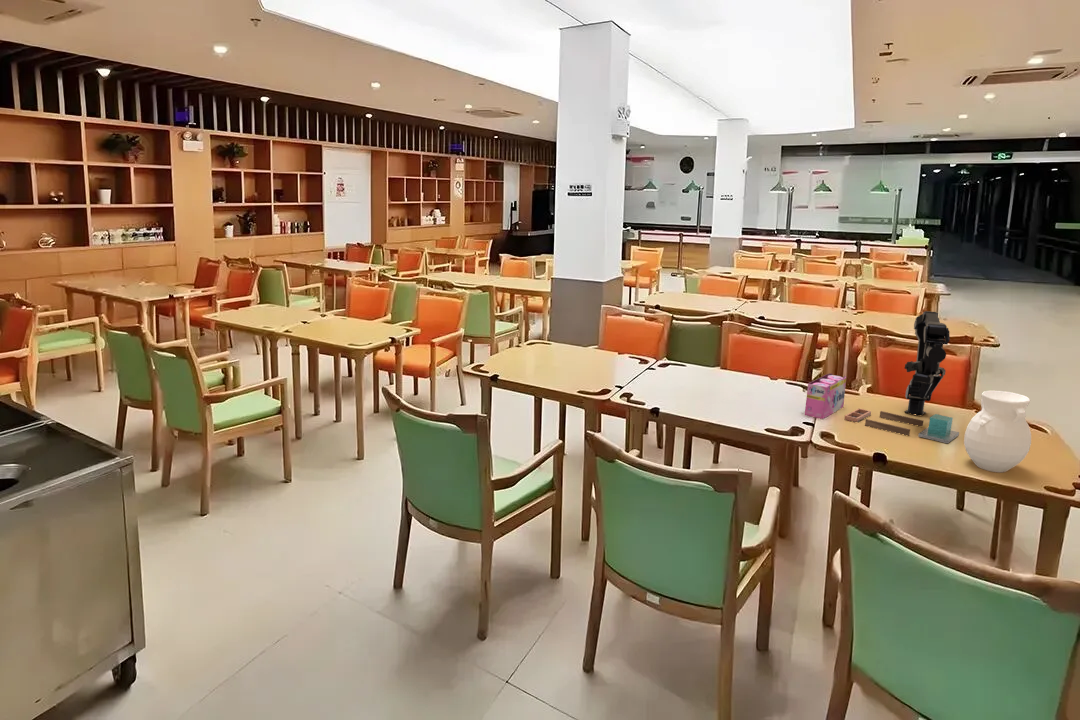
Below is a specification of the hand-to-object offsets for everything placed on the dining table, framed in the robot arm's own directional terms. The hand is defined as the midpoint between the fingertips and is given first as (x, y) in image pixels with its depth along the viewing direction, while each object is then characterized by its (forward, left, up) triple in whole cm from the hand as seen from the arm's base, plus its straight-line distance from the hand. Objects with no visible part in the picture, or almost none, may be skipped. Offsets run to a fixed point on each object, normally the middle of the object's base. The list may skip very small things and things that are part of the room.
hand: (926, 395), depth 269 cm
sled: (+6, +8, -13) cm, 16 cm away
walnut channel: (+6, -8, -13) cm, 16 cm away
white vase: (+25, +30, -13) cm, 41 cm away
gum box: (+7, -35, -13) cm, 38 cm away
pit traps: (+6, -22, -13) cm, 26 cm away
